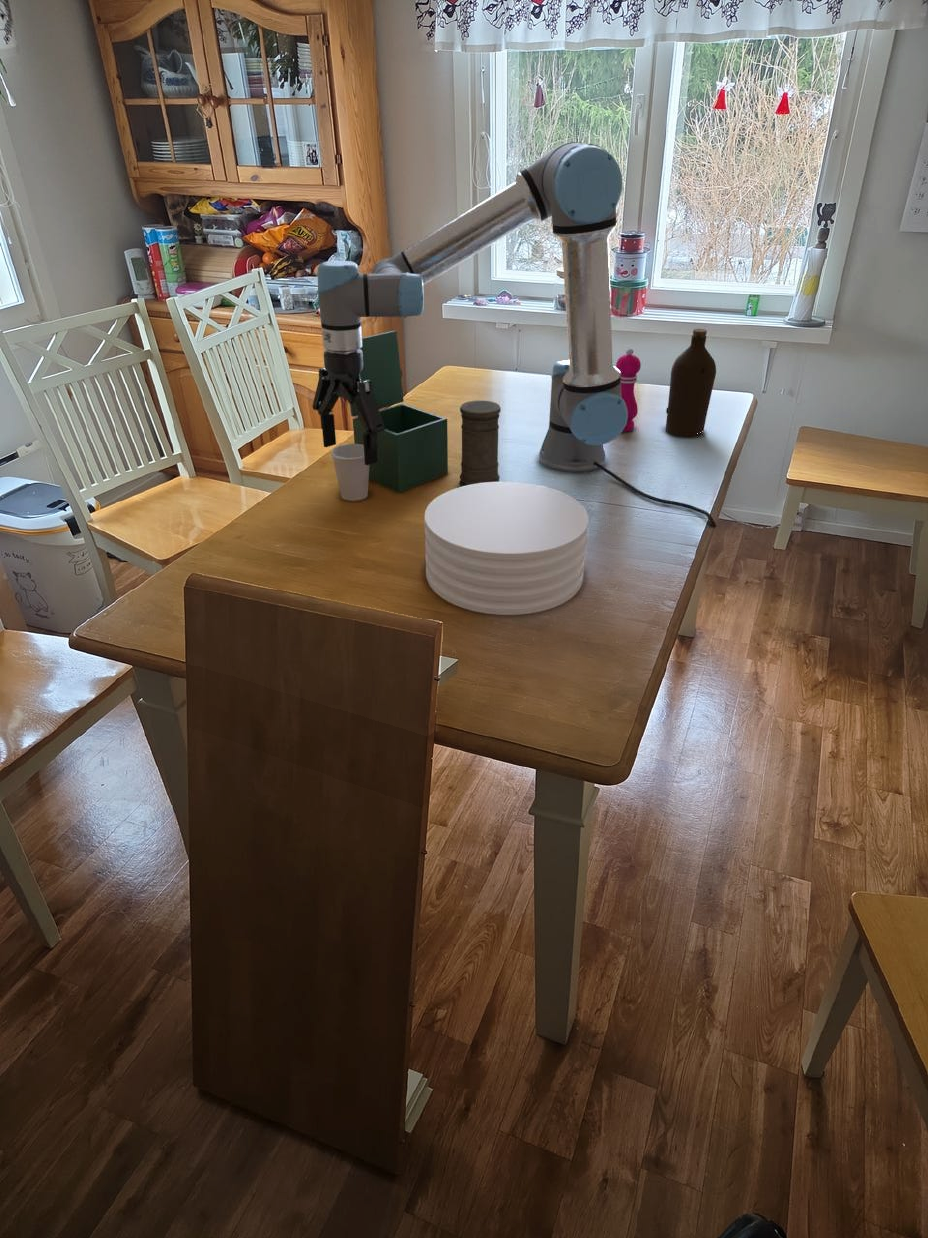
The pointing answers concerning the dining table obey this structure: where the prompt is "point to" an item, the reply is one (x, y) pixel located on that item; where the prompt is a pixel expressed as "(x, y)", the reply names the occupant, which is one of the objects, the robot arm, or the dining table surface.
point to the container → (479, 442)
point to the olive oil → (690, 389)
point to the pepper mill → (629, 384)
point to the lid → (382, 369)
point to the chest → (407, 447)
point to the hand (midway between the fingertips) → (350, 454)
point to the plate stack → (505, 547)
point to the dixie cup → (351, 471)
